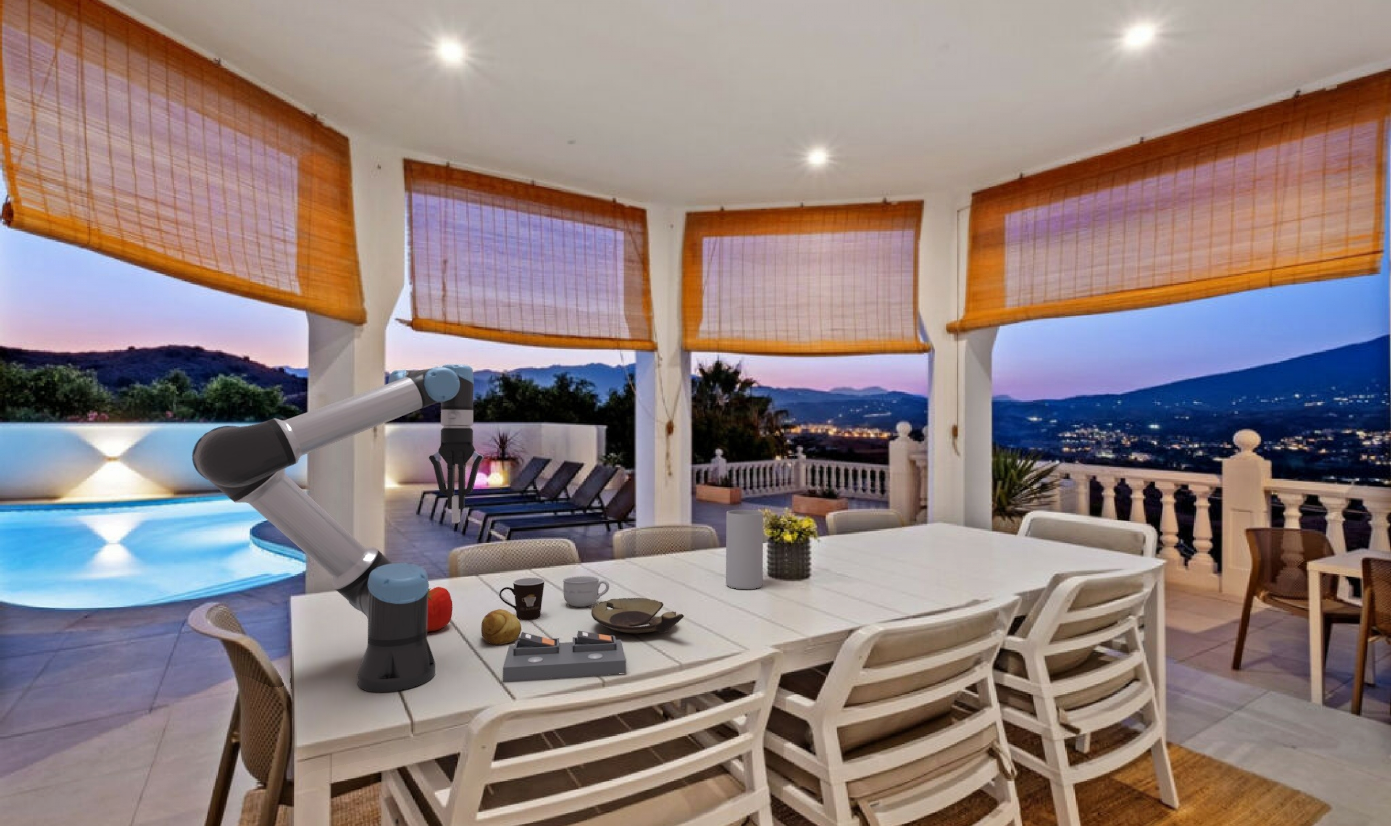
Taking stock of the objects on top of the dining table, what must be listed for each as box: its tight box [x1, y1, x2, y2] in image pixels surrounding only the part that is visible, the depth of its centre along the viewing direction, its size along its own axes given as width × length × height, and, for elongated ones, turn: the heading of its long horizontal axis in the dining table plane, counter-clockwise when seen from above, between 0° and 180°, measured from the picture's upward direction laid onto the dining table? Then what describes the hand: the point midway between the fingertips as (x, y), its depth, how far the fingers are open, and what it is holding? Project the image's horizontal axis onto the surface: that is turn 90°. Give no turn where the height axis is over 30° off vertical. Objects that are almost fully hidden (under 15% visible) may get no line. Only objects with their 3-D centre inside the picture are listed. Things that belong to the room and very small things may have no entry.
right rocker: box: [576, 630, 613, 644], centre depth 152 cm, size 8×4×1 cm, turn 100°
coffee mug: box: [499, 577, 545, 621], centre depth 185 cm, size 12×9×10 cm
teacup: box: [562, 575, 610, 608], centre depth 198 cm, size 14×11×8 cm
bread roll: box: [480, 608, 522, 645], centre depth 166 cm, size 13×10×8 cm
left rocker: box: [518, 631, 555, 647], centre depth 150 cm, size 8×4×1 cm, turn 100°
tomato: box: [427, 586, 453, 633], centre depth 173 cm, size 14×13×10 cm
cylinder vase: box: [725, 509, 764, 590], centre depth 223 cm, size 12×12×25 cm
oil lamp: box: [590, 597, 685, 634], centre depth 174 cm, size 22×30×8 cm
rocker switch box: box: [502, 635, 627, 683], centre depth 148 cm, size 26×14×4 cm, turn 101°
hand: (456, 522), depth 162 cm, fingers closed
